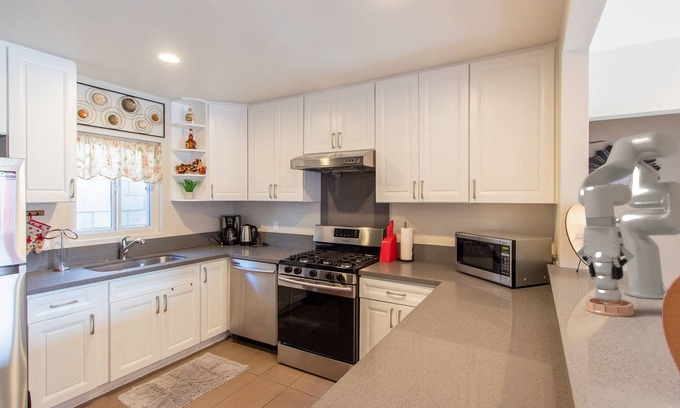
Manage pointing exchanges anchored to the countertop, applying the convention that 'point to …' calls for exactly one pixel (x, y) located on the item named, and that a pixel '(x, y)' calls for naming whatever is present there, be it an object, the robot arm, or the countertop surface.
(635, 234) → the robot arm
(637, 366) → the countertop surface
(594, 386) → the countertop surface
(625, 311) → the round tray
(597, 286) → the plastic bottle
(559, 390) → the countertop surface
